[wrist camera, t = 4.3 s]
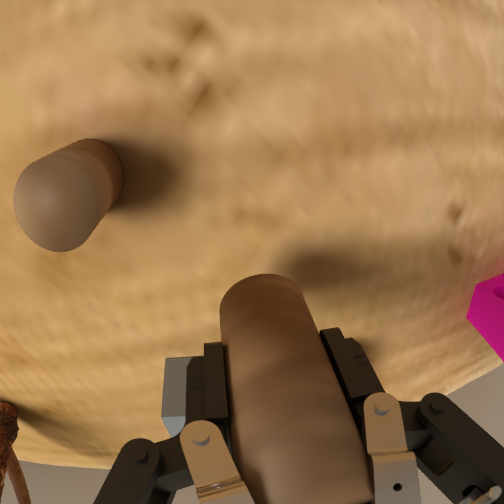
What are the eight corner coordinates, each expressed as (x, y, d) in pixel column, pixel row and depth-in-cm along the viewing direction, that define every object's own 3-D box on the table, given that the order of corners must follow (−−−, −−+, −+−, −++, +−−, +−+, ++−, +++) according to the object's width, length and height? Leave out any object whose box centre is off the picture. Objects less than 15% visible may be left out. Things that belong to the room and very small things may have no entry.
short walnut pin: (118, 132, 14) (86, 148, 10) (129, 207, 16) (106, 246, 12) (49, 147, 14) (4, 168, 10) (64, 216, 15) (28, 256, 12)
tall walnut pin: (306, 269, 14) (403, 481, 5) (301, 335, 16) (363, 519, 7) (215, 278, 14) (233, 519, 5) (223, 344, 16) (244, 542, 7)
